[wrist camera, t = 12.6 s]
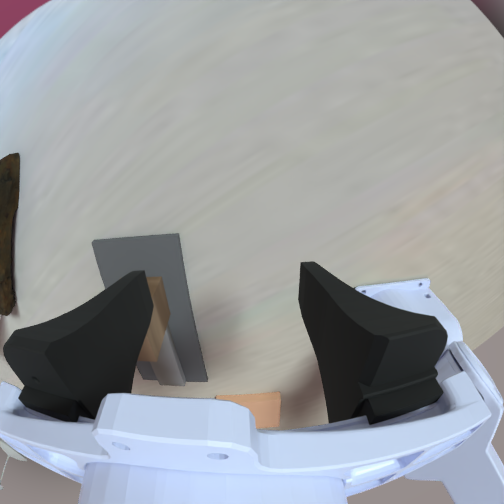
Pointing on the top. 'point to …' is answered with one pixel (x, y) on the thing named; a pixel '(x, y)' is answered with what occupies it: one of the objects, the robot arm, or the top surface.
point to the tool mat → (175, 284)
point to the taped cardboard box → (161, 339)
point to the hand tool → (7, 227)
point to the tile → (260, 407)
